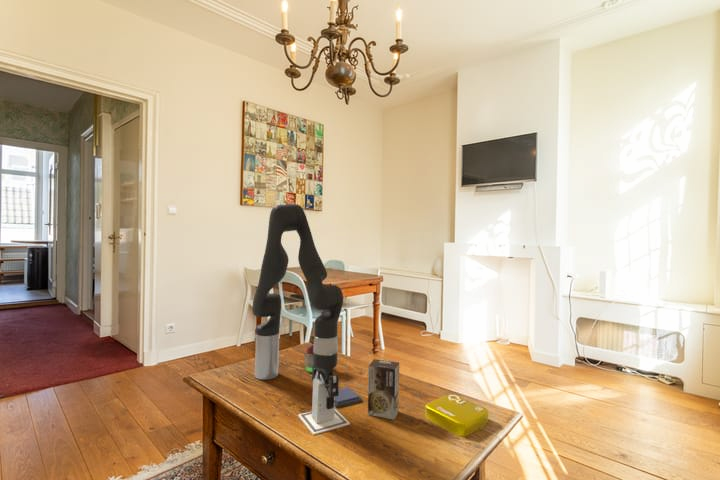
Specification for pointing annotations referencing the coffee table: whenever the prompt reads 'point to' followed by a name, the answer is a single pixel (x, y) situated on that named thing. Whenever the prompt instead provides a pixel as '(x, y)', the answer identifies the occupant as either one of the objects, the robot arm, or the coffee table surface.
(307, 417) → the marked card
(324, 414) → the skincare box
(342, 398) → the ink pad
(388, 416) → the coffee box
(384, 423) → the coffee table surface
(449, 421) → the element tile
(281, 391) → the coffee table surface
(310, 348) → the multicoloured piece
